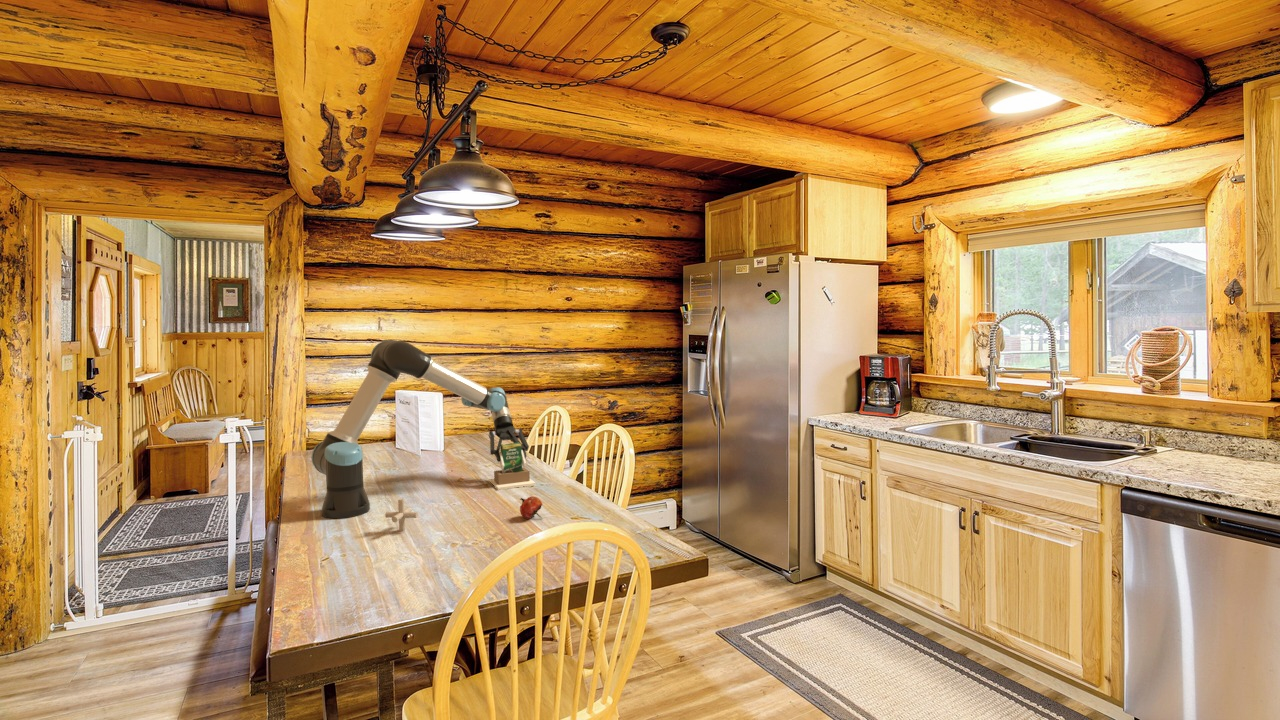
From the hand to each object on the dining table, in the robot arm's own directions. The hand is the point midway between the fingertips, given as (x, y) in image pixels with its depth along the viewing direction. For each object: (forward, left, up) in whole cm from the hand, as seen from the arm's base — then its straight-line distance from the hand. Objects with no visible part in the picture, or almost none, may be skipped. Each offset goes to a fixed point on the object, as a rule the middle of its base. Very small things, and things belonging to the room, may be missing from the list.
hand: (513, 466), depth 257 cm
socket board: (+3, 0, -8) cm, 8 cm away
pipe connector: (-37, +46, -8) cm, 59 cm away
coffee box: (+3, 0, -5) cm, 6 cm away
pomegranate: (-44, +6, -8) cm, 45 cm away
